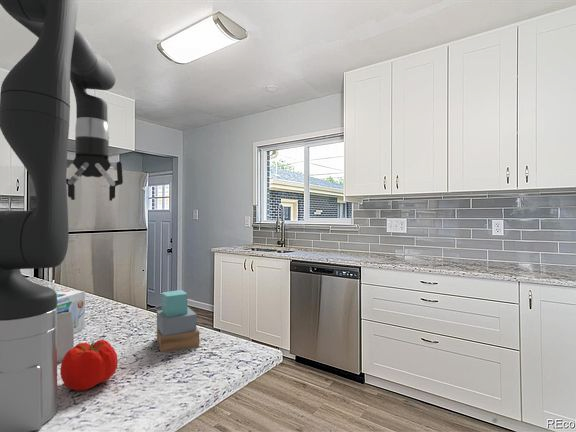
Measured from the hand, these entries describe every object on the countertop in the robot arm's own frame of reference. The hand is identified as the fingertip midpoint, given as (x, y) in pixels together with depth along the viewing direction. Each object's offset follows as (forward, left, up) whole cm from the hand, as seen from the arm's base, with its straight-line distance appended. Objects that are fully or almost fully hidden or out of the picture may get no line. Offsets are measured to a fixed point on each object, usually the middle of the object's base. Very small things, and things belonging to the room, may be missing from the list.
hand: (92, 200), depth 88 cm
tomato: (-27, -1, -36) cm, 45 cm away
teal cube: (-13, -18, -28) cm, 37 cm away
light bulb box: (+7, +8, -36) cm, 38 cm away
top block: (-14, -19, -32) cm, 40 cm away
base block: (-14, -19, -36) cm, 43 cm away
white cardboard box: (-11, +7, -36) cm, 39 cm away
